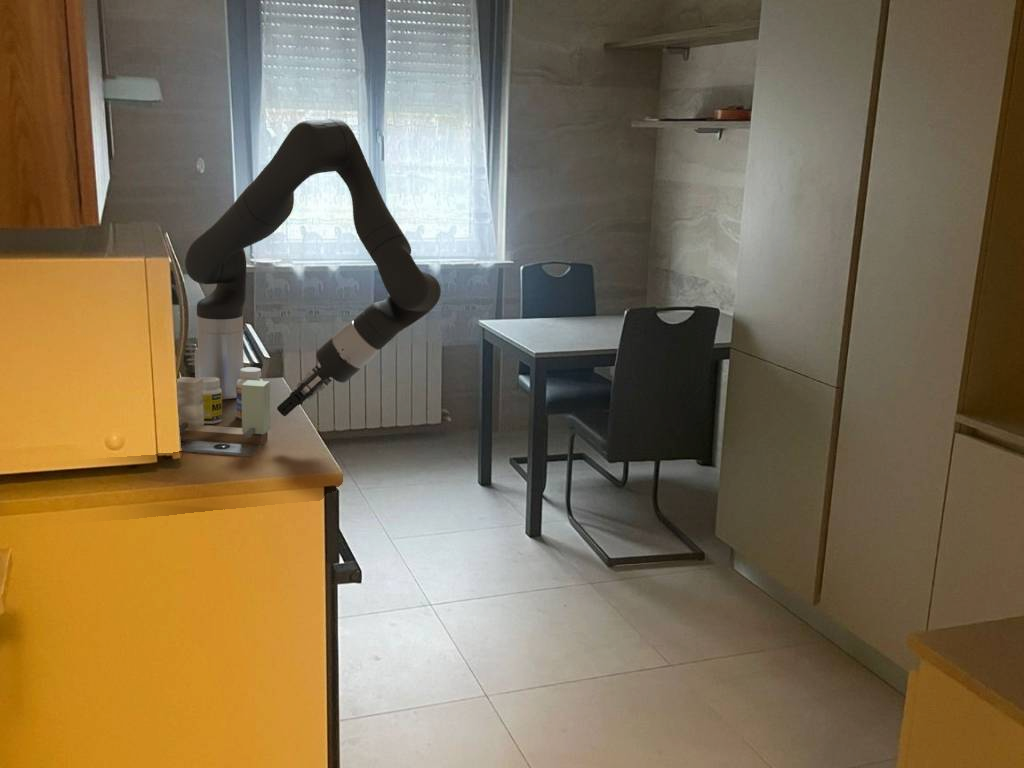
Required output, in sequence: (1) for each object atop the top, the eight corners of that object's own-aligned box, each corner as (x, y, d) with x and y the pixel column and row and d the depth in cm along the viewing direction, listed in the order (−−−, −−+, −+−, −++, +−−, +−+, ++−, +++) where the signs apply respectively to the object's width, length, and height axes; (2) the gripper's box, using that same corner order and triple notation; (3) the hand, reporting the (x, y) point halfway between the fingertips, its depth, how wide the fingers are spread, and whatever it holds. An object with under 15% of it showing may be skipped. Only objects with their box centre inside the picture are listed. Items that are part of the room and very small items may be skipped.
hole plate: (161, 450, 170) (161, 446, 169) (173, 441, 174) (172, 437, 174) (250, 456, 169) (250, 453, 169) (259, 447, 174) (259, 444, 173)
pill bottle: (233, 419, 189) (232, 371, 187) (241, 411, 194) (240, 365, 192) (260, 421, 189) (259, 373, 187) (268, 413, 194) (267, 367, 192)
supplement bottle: (214, 425, 185) (213, 383, 183) (192, 422, 186) (191, 380, 184) (227, 418, 189) (226, 377, 187) (204, 416, 190) (203, 375, 188)
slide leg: (235, 438, 171) (234, 389, 169) (248, 427, 178) (248, 379, 175) (257, 440, 171) (257, 391, 168) (270, 428, 177) (269, 381, 175)
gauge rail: (167, 445, 172) (165, 386, 169) (183, 433, 179) (181, 376, 176) (255, 452, 171) (254, 392, 168) (267, 440, 178) (267, 382, 175)
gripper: (343, 328, 177) (277, 387, 181) (324, 343, 164) (255, 406, 168) (370, 358, 178) (305, 416, 182) (355, 375, 165) (284, 437, 169)
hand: (281, 411), depth 175 cm, fingers closed
